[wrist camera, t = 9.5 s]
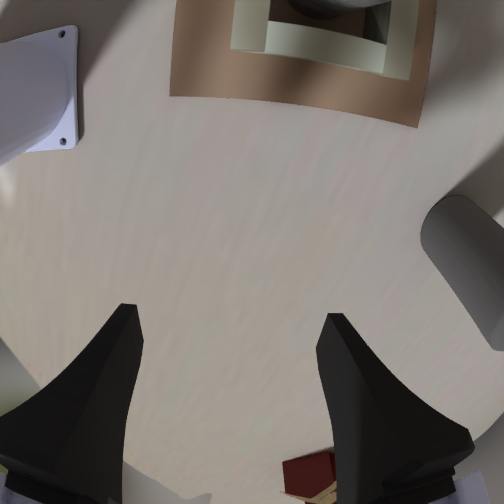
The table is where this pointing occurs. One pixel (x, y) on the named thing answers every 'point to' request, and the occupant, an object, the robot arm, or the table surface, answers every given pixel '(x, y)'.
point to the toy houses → (311, 478)
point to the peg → (331, 7)
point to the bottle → (469, 260)
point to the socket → (306, 55)
